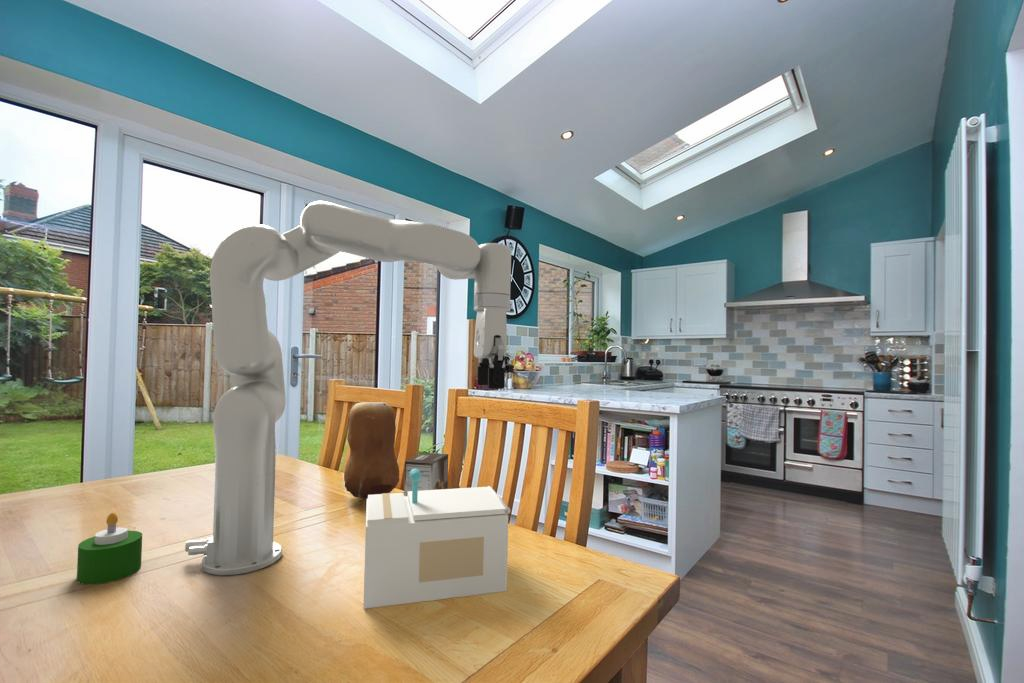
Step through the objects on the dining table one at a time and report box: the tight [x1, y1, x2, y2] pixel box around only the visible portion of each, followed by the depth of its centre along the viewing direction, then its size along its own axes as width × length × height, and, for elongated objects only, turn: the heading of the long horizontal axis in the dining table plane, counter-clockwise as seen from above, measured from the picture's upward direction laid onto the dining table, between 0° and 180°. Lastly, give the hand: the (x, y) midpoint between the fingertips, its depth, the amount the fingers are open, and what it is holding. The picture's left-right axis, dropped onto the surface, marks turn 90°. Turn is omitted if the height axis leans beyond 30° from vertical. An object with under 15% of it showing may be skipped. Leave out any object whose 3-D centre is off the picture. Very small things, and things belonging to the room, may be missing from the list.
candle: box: [76, 512, 143, 585], centre depth 81 cm, size 8×8×10 cm
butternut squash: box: [343, 401, 400, 500], centre depth 123 cm, size 14×13×25 cm
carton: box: [363, 492, 509, 610], centre depth 81 cm, size 22×14×13 cm, turn 106°
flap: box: [407, 469, 511, 521], centre depth 82 cm, size 16×13×6 cm
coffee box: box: [403, 452, 449, 496], centre depth 100 cm, size 9×6×16 cm
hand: (490, 386), depth 99 cm, fingers open, 9 cm apart
